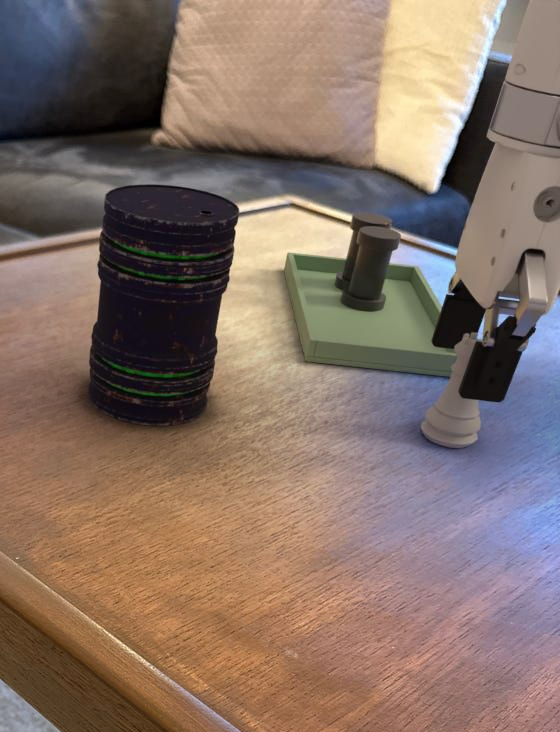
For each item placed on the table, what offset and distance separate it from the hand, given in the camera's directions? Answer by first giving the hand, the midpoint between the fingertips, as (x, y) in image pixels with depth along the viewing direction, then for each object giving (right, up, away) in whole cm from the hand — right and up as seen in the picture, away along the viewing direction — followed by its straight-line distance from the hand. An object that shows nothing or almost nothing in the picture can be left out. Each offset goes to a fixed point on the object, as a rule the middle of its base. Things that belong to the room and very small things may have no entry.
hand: (464, 371), depth 74 cm
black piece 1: (0, +17, +29) cm, 34 cm away
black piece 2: (-1, +14, +25) cm, 29 cm away
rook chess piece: (0, -4, +4) cm, 6 cm away
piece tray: (-1, +12, +23) cm, 26 cm away
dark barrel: (-24, -1, +5) cm, 24 cm away
